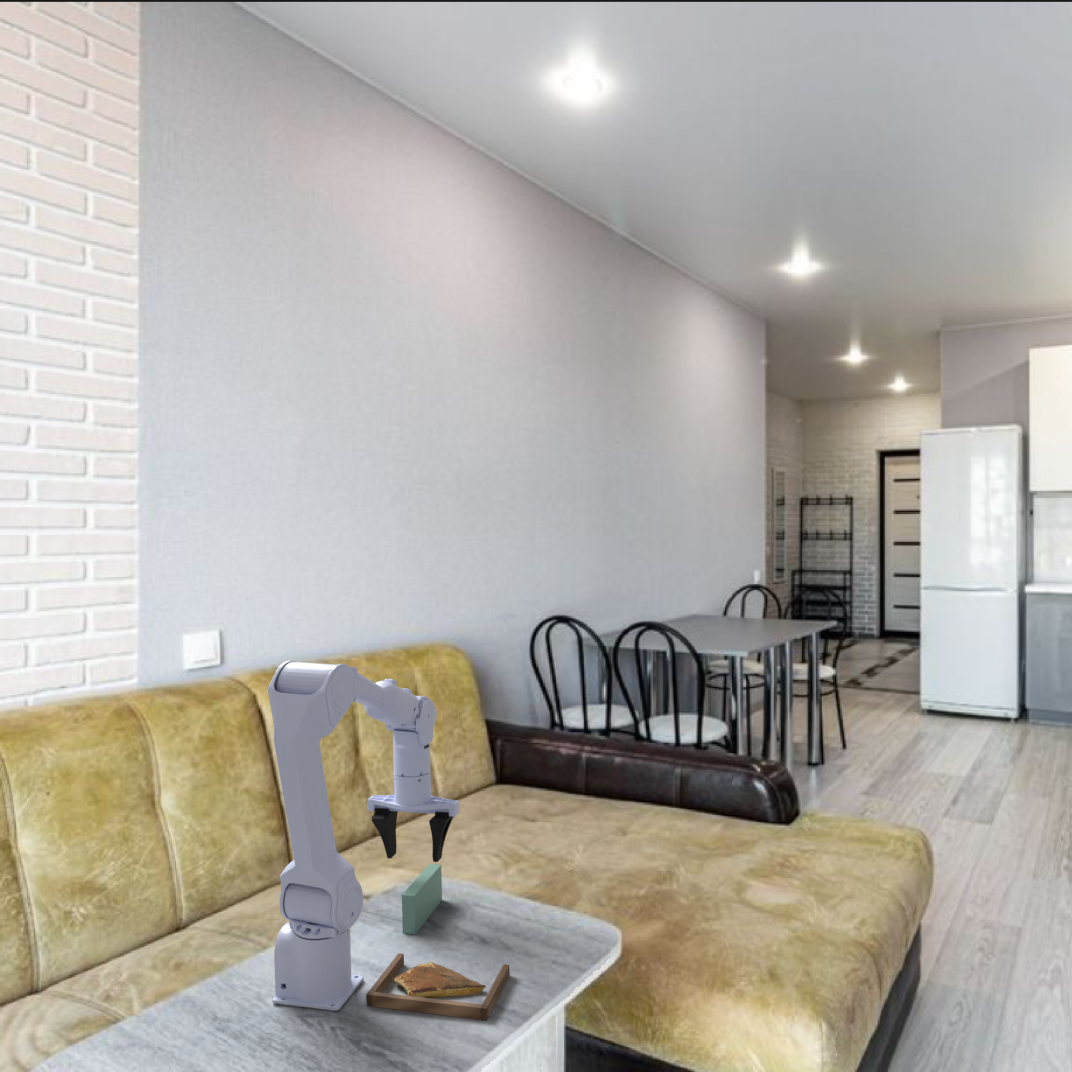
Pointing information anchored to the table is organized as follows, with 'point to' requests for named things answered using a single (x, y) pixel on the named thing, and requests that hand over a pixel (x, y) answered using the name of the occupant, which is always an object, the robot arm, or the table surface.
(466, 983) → the shard
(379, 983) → the walnut frame
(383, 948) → the table surface
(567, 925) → the table surface
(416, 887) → the bar
